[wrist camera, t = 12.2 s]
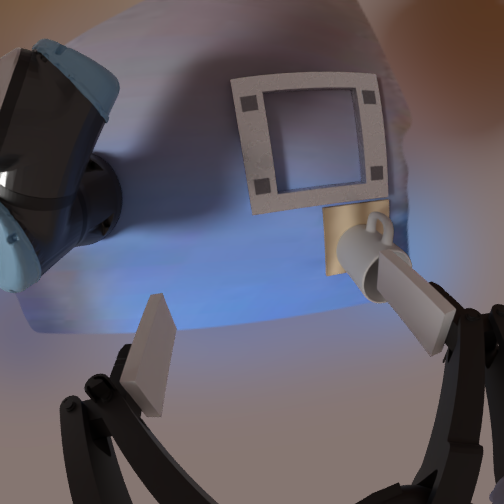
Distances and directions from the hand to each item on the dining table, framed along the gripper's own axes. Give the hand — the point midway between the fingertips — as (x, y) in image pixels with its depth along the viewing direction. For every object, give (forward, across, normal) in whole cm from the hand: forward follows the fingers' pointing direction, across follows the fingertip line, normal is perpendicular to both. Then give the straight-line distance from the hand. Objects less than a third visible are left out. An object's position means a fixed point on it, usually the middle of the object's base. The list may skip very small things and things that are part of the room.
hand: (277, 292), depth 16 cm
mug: (+26, +18, -10) cm, 33 cm away
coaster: (+26, +17, -10) cm, 33 cm away
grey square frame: (+27, +12, +7) cm, 30 cm away
